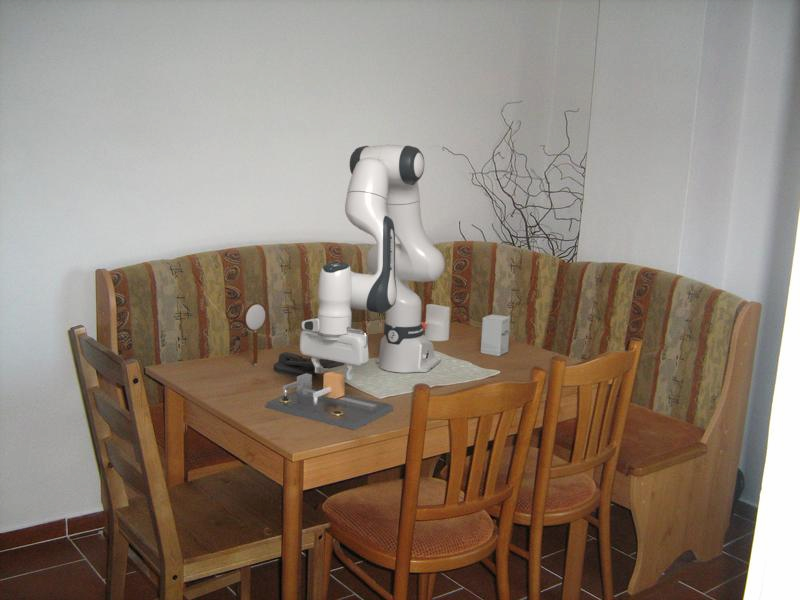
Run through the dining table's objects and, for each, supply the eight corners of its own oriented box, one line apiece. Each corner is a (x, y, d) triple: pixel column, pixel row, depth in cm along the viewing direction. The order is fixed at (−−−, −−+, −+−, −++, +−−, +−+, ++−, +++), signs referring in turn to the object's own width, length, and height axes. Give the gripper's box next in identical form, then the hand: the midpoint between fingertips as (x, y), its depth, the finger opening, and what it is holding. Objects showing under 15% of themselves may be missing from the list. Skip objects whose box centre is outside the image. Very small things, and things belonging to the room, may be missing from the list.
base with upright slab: (419, 338, 285) (420, 305, 283) (434, 334, 292) (435, 302, 290) (439, 342, 280) (440, 309, 277) (453, 338, 286) (455, 306, 284)
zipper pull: (328, 366, 221) (269, 350, 237) (328, 388, 223) (269, 371, 238) (349, 360, 228) (291, 344, 244) (349, 381, 230) (290, 365, 245)
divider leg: (332, 393, 210) (332, 370, 209) (344, 396, 208) (344, 373, 207) (308, 404, 201) (308, 379, 200) (320, 407, 199) (320, 382, 198)
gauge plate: (309, 391, 219) (309, 368, 218) (393, 410, 205) (393, 386, 204) (266, 407, 204) (266, 384, 203) (354, 430, 190) (354, 404, 189)
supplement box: (499, 356, 262) (501, 320, 260) (480, 353, 266) (481, 317, 264) (508, 352, 269) (510, 316, 266) (489, 348, 272) (491, 313, 270)
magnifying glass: (246, 369, 239) (246, 305, 235) (242, 368, 240) (242, 304, 236) (267, 363, 245) (267, 301, 241) (264, 362, 246) (263, 300, 243)
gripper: (374, 328, 201) (372, 380, 203) (311, 318, 211) (310, 367, 214) (360, 332, 195) (358, 385, 198) (296, 321, 206) (295, 372, 208)
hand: (333, 376), depth 206 cm, fingers open, 8 cm apart
